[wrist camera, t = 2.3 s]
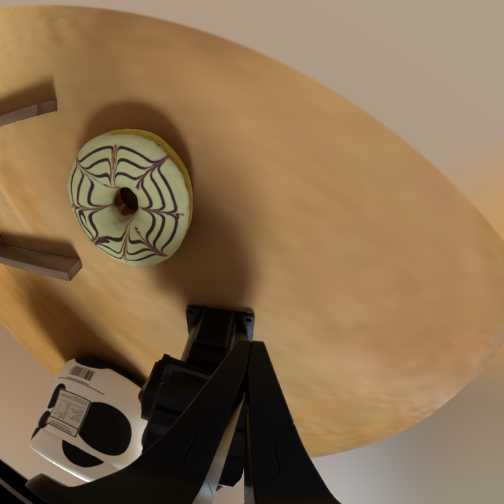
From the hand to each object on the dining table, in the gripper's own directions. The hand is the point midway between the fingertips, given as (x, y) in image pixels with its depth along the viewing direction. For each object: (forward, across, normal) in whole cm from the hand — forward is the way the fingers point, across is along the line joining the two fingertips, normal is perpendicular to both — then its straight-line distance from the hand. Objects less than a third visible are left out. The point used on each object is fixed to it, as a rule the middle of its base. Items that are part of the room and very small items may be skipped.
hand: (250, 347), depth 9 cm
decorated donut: (+14, +10, 0) cm, 17 cm away
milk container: (+13, +22, +32) cm, 41 cm away
